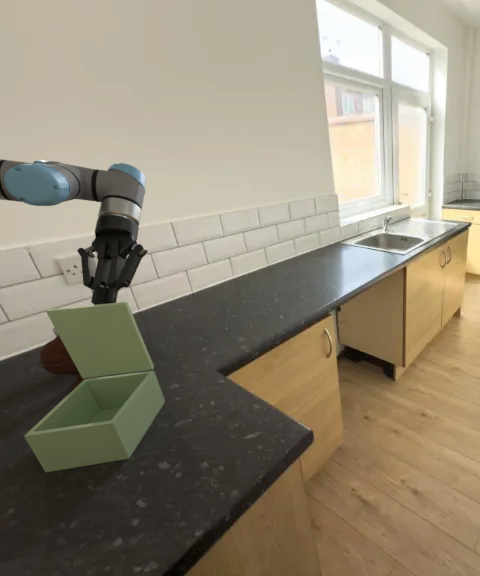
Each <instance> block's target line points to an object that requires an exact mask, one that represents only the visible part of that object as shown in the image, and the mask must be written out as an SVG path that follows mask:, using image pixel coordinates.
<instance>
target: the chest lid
mask: <svg viewBox="0 0 480 576" xmlns="http://www.w3.org/2000/svg"><path fill="white" fill-rule="evenodd" d="M45 312H46V314H47V316H48V318H49V320H50V321H51V324H52V326H53V328H54V327H55V329H56V331H57V333H58V334H59V336H60V338H61V340H62V342H63V344H64V345H65V347H66V349H67V351H68V353H69V355H70V356H71V358H72V360H73V362H74V364H75V366H76V367H77V369H78V371H79V373H80V375H81V377H82V378H90V377H97V378H99V377H107V376H115V375H123V374H131V373H138V372H146V371H154V368H155V366H154V362H153V360H152V358H151V356H150V354H149V351H148V348H147V346H146V344H145V342H144V339H143V337H142V335H141V332H140V330H139V327H138V325H137V322H136V319H135V317H134V314H133V312H132V310H131V307H130V305H129V303H128V301H120V302H116V303H109V304H98V305H94V304H89V305H77V306H67V307H56V308H48V309H47V310H46V311H45Z"/></svg>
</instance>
